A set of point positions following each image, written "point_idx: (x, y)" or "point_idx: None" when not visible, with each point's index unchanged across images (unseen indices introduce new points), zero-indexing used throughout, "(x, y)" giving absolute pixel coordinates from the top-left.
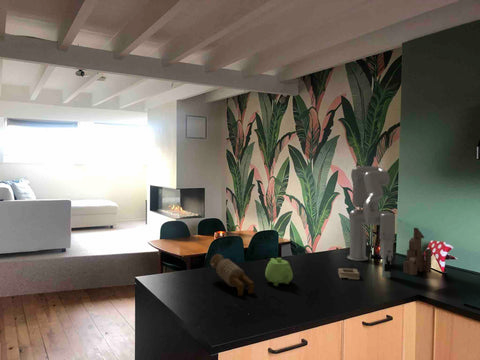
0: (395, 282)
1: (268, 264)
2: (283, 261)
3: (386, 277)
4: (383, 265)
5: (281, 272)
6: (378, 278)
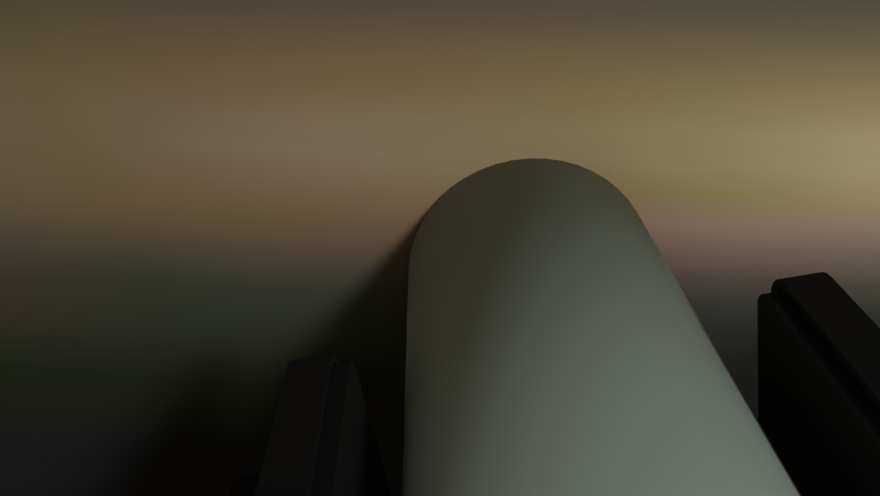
0: (32, 464)
1: None
2: None
3: (408, 283)
4: (476, 465)
5: None
6: (240, 25)
